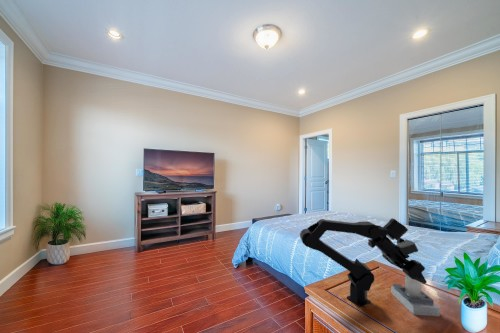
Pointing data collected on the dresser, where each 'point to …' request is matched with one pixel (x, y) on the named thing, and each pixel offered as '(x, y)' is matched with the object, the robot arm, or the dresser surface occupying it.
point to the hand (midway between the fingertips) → (417, 276)
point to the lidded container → (412, 287)
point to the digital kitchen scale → (415, 302)
